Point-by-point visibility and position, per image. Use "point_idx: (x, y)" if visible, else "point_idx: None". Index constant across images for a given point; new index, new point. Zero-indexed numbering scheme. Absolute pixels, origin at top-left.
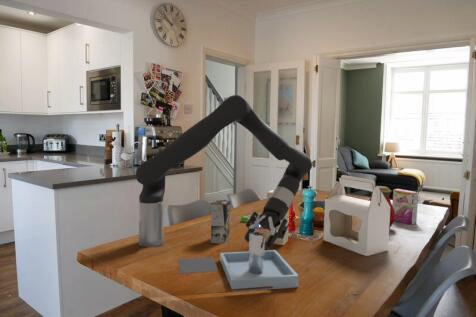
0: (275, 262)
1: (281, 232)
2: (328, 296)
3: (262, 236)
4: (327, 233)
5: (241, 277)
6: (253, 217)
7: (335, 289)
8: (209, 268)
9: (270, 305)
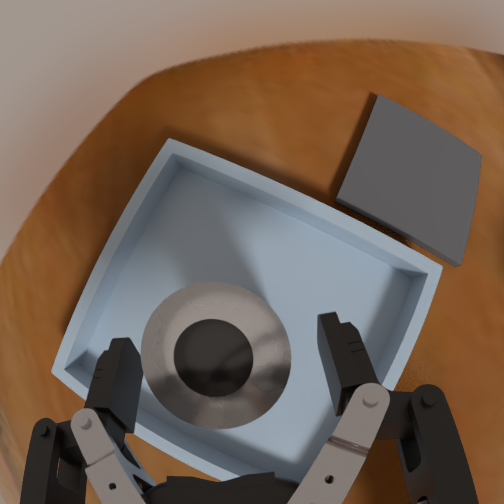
0: (260, 461)
1: (36, 447)
2: (11, 376)
3: (141, 353)
4: None
5: (227, 236)
6: (436, 493)
7: (26, 427)
8: (375, 185)
9: (60, 209)
